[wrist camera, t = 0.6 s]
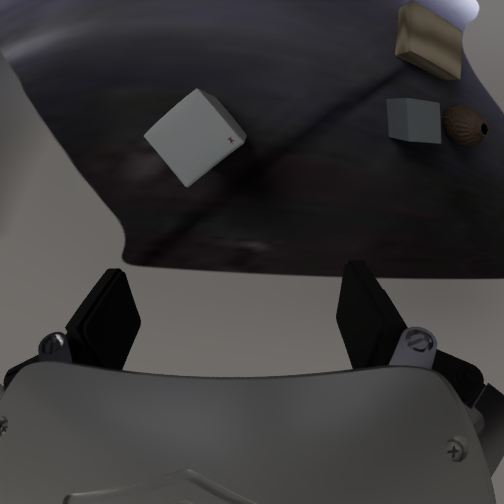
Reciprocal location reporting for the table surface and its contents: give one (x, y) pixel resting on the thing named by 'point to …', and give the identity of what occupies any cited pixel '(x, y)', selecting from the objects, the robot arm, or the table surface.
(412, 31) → the birch block
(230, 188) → the table surface
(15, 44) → the table surface
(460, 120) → the vase
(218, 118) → the supplement box
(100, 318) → the robot arm
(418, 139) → the slate block
